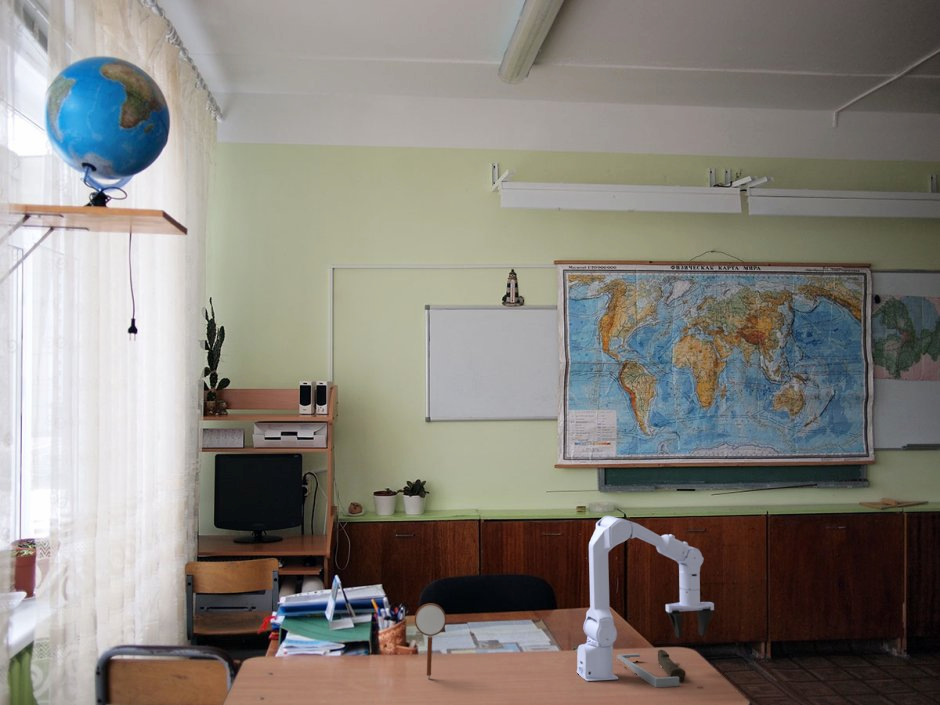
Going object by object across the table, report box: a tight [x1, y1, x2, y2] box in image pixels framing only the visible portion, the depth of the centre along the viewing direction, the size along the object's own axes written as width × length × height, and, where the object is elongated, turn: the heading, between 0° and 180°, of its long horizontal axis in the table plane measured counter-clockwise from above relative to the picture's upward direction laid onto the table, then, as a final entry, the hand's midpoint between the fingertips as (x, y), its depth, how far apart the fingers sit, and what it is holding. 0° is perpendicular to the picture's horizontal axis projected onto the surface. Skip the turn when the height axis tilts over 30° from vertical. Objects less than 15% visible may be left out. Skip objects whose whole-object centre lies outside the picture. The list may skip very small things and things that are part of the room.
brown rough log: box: [657, 649, 686, 683], centre depth 236 cm, size 19×4×5 cm, turn 0°
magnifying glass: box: [414, 602, 447, 680], centre depth 225 cm, size 9×2×20 cm, turn 89°
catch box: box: [616, 653, 680, 688], centre depth 234 cm, size 7×24×2 cm, turn 15°
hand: (690, 636), depth 238 cm, fingers open, 7 cm apart
